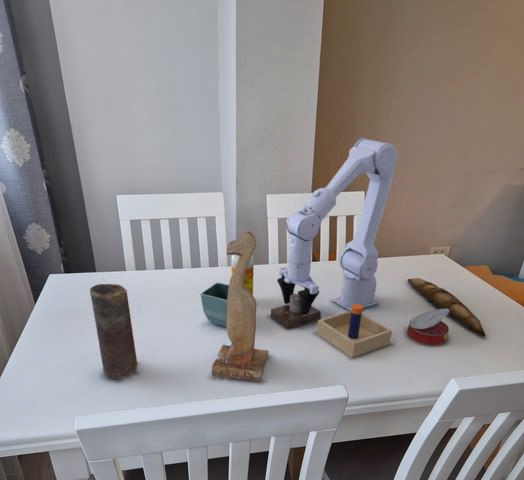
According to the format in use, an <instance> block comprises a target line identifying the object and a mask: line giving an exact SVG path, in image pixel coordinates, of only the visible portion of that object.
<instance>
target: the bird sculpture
mask: <svg viewBox="0 0 524 480" xmlns="http://www.w3.org/2000/svg"><path fill="white" fill-rule="evenodd" d="M256 247H257V240H256V237H255V235H254V234H253V233H252V232H251V231H249V230H243V231H242V233H241V235H240V236H238V237H237V238H235V239H233V240H231V241H229V243H228V244H227V249H226V255H227V256H228V255H229V256H232V255H233V254H236V255H239V259H238V262H237V264H236V267H235V269H234V271H233V274H232V273H231V275H230V279H229V283H228V285H229V288H228V297H227V324H226V325H227V327H226V333H227V337H228V338H229V340H230V343H231V344H230V345H227V344H222V346H221V347H220V350H219V352H218V353H217V354H218V355H217V357H218V358H215V359H214V361H213V363H212V366H211V371H210V373H211V376H214V377H215V376H216V377H222V378H228V379H233V380H234V379H237V380H243V381H251V382H261V376H262V371H263V367H264V364H265V362H266V359H267V357H268V355H269V352H270V351H269V350H268V349H259V348H255V342H256V341H255V340H256V330H257V302H256V299H255V296H254V294H253V295H252V294H251V293H250V292H249V290H247V289H246V288H245V287H244V286H243V282H244V276H245V273H246V269H247V266H248V264H249V261H250V258H251V256H252V255H253V253H254V251H255V249H256Z"/></svg>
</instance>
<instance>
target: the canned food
mask: <svg viewBox="0 0 524 480" xmlns="http://www.w3.org/2000/svg"><path fill="white" fill-rule="evenodd" d="M448 313H449V309H440V308H438V309H433V310H429V311H425V312H423V313H420V314H418V315H416V316H414V317H412V318H411V319H410V320H409V323H408V327H407V330H406V331H407V332H406V333H407V337H408V338H409V339H411V340H412V341H413V342H415V343H418V344H421V345H425V346H440V345H443V344H445V343H446V341H447V338H448V334H449V331H450V328H449V326H448V325H447V323H445V322H443V321H442V320H443V319H444V318H445V317H446V316H447V315H448V316H449V314H448Z"/></svg>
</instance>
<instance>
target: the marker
mask: <svg viewBox="0 0 524 480" xmlns="http://www.w3.org/2000/svg"><path fill="white" fill-rule="evenodd" d="M363 312H364V308H363V306H362V305H360V304H353V305H352V307H351V317H350V324H349V331H348V337H349V338H351V339H357V338H358V335H359V328H360V322H361V316H362V314H363Z"/></svg>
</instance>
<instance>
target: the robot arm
mask: <svg viewBox="0 0 524 480" xmlns="http://www.w3.org/2000/svg"><path fill="white" fill-rule="evenodd" d="M398 157H399V154H398V152H397V150H396V148H395V146H394V144H392V143H390V142H381V141H377V140H374V139H373V140H372V139H369V138H368V137H367V138H366V137H363V138H360V139H358V140H357V141H356V142H355V144H354V146H352V147H351V148H350V149H349V152H348V157H347V159H346V160H345V162H344V163H343V164H342V166H341V167H340V168H339V169H338V171H337V172H336V174H334V176H333V178H331V180H330V181H329V183H327V185H326V187H320V188H318V189H317V190H316V189H315V190H314V191H313V192H312V195H311V197H310V198H309V199H308V201H307V202H306V203H304V205H303V206H301V208H300V209H299V211H296V212H293V213H292V214H291V215H289V217H288V219H287V222H286V223H285V229H286V231H287V233H288V239H289V244H288V245H289V247H288V262H287V267H286V266H284V267H280V268H279V273H278V274H279V276H280V277H278V278H277V279H276V281H277V283H278V285H279V287H280V290H281V294H282V299H283V303H284V304H285V305H287V304H290V296H291V295H292V294H295V288H296V286H299V287H301V288H303V289H302V290H298V291H297V294H298V295H299V298H300V312H301V315H306V314H308V313H309V310H310V308H311V306H313V303H314V301H315V300H316V298H317V297H318V296H319V294H320V290H319V289H320V288H319V287H320V286H319V285H318V284H317V283H316V282H315V281H314V279H312V278H311V276H310V275H311V265H312V264H311V263H312V254H313V253H312V252H313V251H312V250H313V242H314V241H313V240H314V238H315V237H316V236H317V235H318V233H319V230H320V226H321V225H322V222H323V220H324V219H325V218H326V217H327V215H328V214H329V213H330V212H331V211H332V209H334V207H335V206H336V205H337V198H338V196H339V195H340V194H341V193H342V192H343V191H344V190H345V189H346V188H347V187H348V186H349V185H350V184H351V183H352V182H353V181H354V180H355V179H356V178H357V176H359V175H365V174H366V176H367V177H368V179H369V184H368V187H367V191H366V195H365V198H364V202H363V205H362V210H361V211H360V212H361V213H360V216H359V219H358V223H357V227H356V230H355V235H354V238H353V239H352V240H350V241H349V242H347V243H346V244H345V248H344V250H343V252H342V253H341V255H340V257H339V266H340V267H341V269H342V273H343V277H342V284H341V293H340V294H341V295H340V297H339V298H335V299H333V302H334V303H336V304H338V305H339V306H341V307H343V308H344V309H346V310H348V311H351V307H352V305H353V304H360V305H362V306H363V309H365V308H368V307H372V306H376V302H375V295H376V290H377V278H376V276H375V273H376V272H377V270H378V260H379V259H378V258H379V251H378V250H377V248H376V246H375V241H376V237H377V234H378V232H379V231H378V230H379V227H380V224H381V220H382V217H383V214H384V211H385V207H386V203H387V200H388V197H389V194H390V190H391V187H392V185H393V184H392V183H393V180H394V176H395V175H394V174H395V167H396V165H397V160H398Z"/></svg>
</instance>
